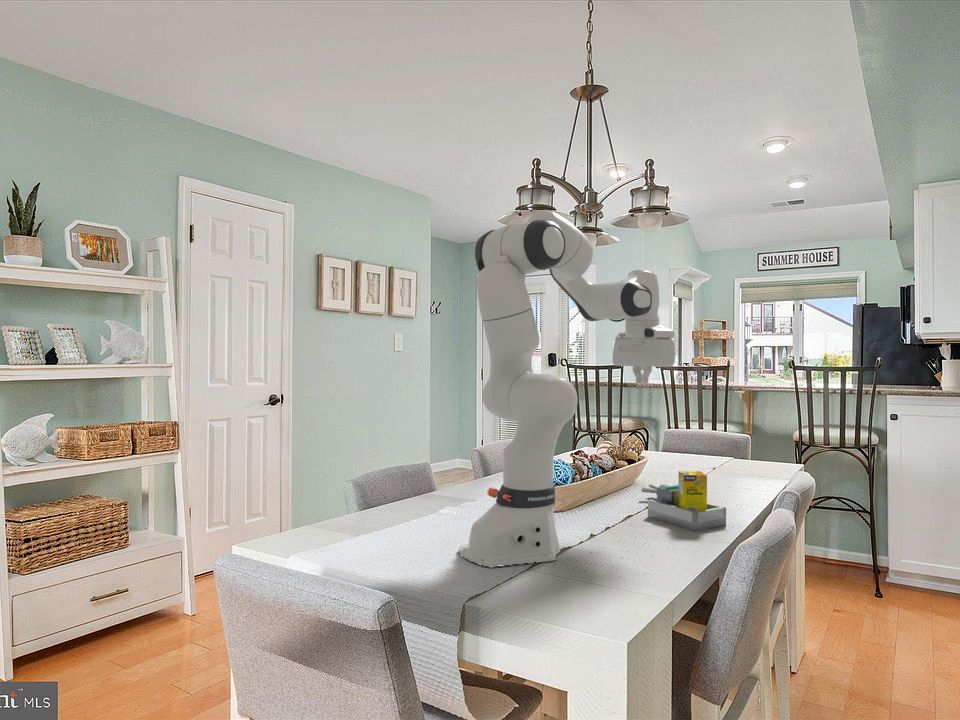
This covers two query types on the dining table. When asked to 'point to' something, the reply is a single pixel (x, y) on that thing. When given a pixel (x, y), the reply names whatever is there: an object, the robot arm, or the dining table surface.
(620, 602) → the dining table surface
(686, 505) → the supplement box
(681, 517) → the tray
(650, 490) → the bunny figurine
